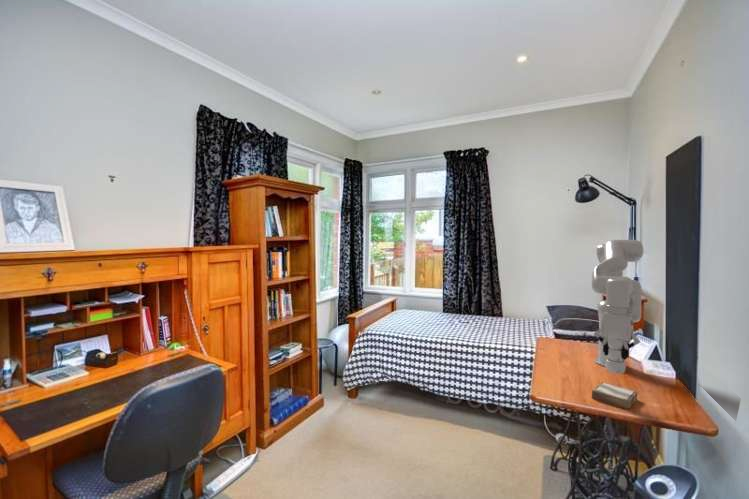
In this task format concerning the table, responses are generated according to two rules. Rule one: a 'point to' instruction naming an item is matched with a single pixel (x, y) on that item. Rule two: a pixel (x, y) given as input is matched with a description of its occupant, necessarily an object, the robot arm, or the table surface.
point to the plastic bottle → (615, 353)
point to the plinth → (614, 395)
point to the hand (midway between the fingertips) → (615, 356)
